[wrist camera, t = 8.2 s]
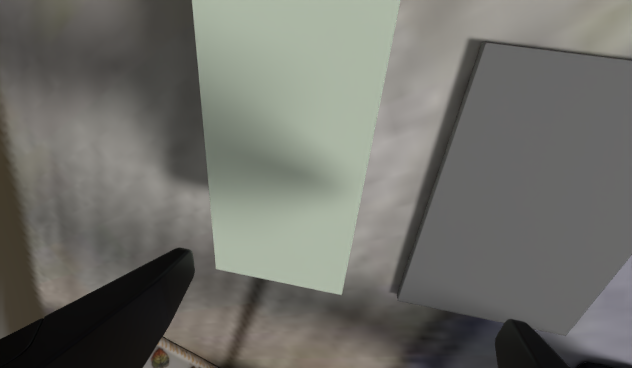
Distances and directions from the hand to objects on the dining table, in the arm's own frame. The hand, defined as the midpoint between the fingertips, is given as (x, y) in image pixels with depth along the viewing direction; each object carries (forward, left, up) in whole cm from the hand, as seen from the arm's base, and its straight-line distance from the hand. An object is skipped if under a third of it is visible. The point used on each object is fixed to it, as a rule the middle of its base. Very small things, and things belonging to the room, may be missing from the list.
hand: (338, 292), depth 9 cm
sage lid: (+1, +3, -7) cm, 8 cm away
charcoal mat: (-3, -11, -12) cm, 16 cm away
